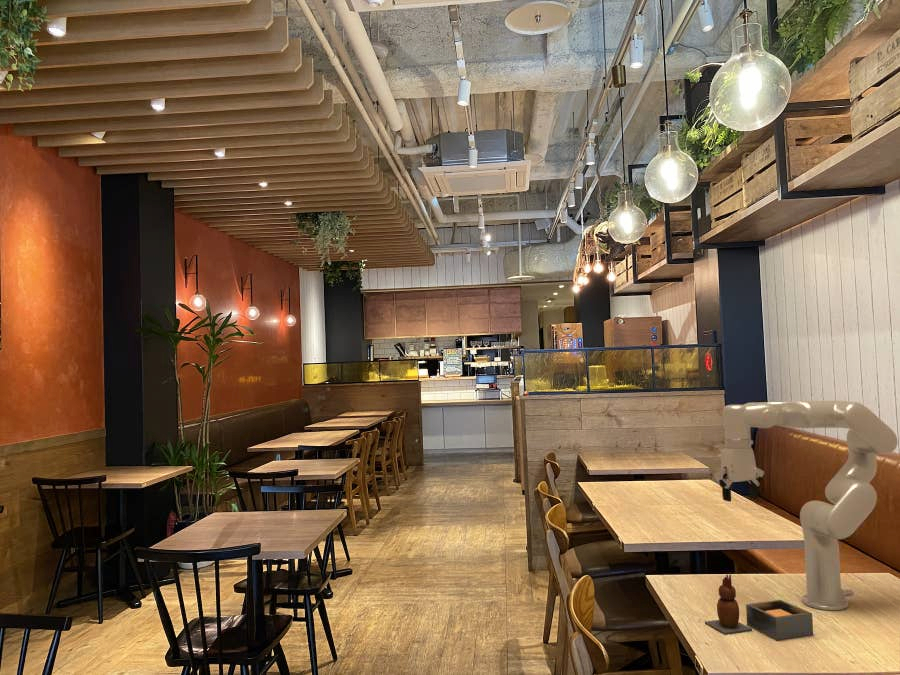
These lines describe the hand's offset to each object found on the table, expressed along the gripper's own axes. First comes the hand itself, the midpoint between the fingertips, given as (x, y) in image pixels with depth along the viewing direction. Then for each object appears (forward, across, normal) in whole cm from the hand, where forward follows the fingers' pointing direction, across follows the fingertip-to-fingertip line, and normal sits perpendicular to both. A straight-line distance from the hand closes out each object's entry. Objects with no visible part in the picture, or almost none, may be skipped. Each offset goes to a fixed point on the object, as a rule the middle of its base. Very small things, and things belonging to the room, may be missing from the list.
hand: (740, 499), depth 214 cm
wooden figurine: (+33, +15, +12) cm, 38 cm away
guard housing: (+33, +3, +18) cm, 38 cm away
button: (+30, +3, +18) cm, 36 cm away
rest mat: (+33, +15, +12) cm, 38 cm away
